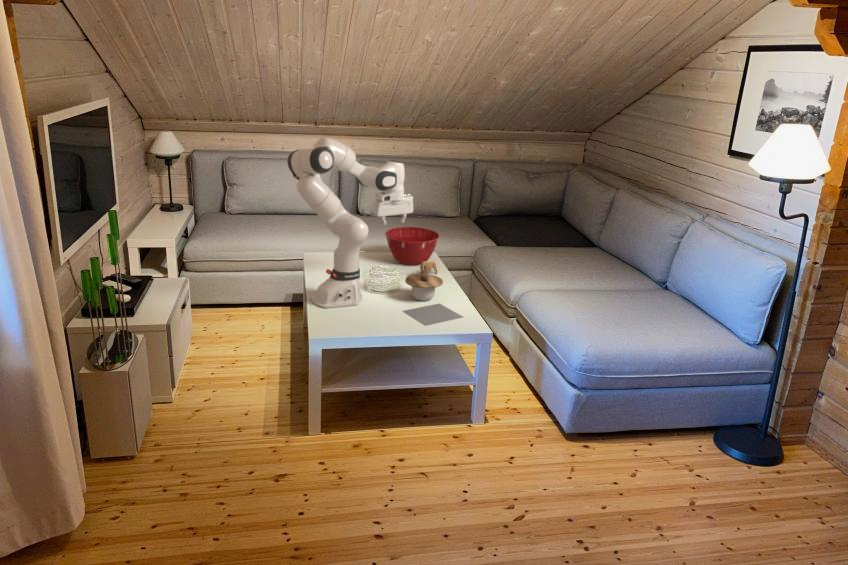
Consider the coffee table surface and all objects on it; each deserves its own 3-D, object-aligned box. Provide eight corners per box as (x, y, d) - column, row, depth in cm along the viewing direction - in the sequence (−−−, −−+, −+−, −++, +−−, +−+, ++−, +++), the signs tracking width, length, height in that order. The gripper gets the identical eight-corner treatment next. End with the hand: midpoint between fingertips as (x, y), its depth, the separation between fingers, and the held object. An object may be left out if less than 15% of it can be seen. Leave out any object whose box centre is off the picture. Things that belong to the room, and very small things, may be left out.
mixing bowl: (433, 272, 342) (435, 243, 337) (379, 266, 346) (380, 238, 341) (440, 256, 369) (442, 229, 363) (390, 251, 372) (391, 224, 367)
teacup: (432, 304, 299) (433, 287, 296) (408, 301, 301) (409, 285, 298) (437, 294, 312) (438, 278, 309) (414, 291, 314) (415, 275, 311)
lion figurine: (426, 280, 329) (427, 263, 326) (417, 278, 331) (418, 261, 328) (439, 272, 342) (440, 256, 339) (429, 270, 344) (430, 254, 341)
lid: (419, 290, 292) (419, 280, 291) (398, 279, 305) (398, 269, 304) (450, 284, 302) (450, 274, 300) (428, 273, 315) (429, 264, 313)
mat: (425, 326, 275) (425, 325, 275) (402, 311, 289) (402, 311, 289) (463, 318, 286) (463, 317, 286) (439, 304, 300) (439, 303, 300)
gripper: (409, 192, 319) (408, 220, 323) (372, 195, 307) (371, 224, 312) (416, 194, 314) (415, 223, 318) (379, 198, 303) (378, 227, 307)
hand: (393, 223), depth 315 cm, fingers open, 8 cm apart
